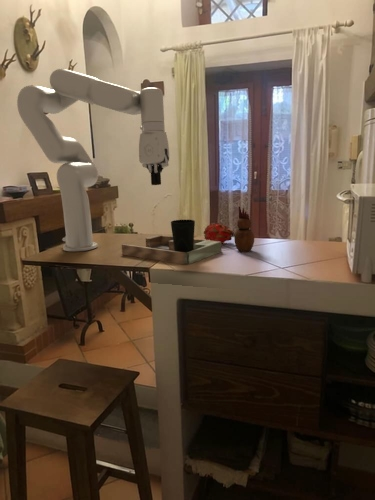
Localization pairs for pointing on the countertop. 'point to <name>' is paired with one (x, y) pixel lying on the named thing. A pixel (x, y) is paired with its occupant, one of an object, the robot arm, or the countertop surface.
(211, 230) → the dragon fruit
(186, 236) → the cup
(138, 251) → the open wooden tray box
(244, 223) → the wooden figurine
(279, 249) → the countertop surface
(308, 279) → the countertop surface
